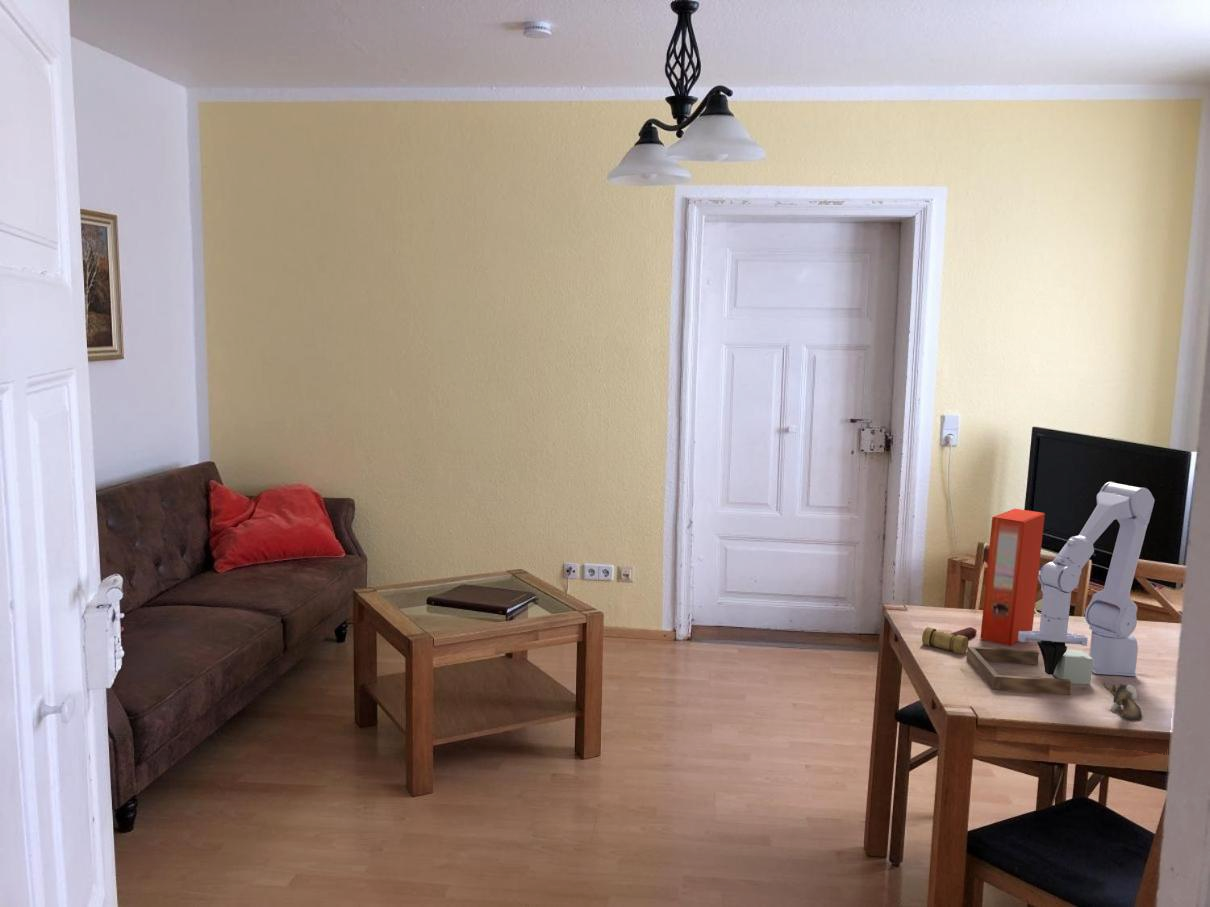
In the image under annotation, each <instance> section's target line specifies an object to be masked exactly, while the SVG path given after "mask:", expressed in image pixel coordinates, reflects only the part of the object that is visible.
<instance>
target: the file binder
mask: <svg viewBox="0 0 1210 907" xmlns="http://www.w3.org/2000/svg"><path fill="white" fill-rule="evenodd" d="M1045 516H1046V514H1045V512H1039V511H1033V510H1029V509H1028V510H1027V509H1026V510H1025V509H1021V508H1012V509H1010V510H1007V511H1004V512H1002V513H1000V514H997V515H994V516H992V517H991V528H990V536H989V537H990V538H989V545H988V546H989V547H988V558H987V568H986V579H985V589H984V596H983V597H984V598H983V605H982V606H983V607H982V616H981V617H982V618H981V628H980V636H979V637H980V639H983V641H987V640H988V641H987V642H991V643H995V642H996V643H995V644H999V643H1000V645H1003V644H1004V646H1007V645H1008V646H1009V647H1012V646H1013V645H1015V644H1016V643H1018V642H1019V641H1018V633H1019V631H1033V627H1034V618H1035V608H1036V601H1037V600H1036V598H1037V591H1038V589H1037V588H1038V581H1039V578H1038V574H1039V573H1040V572H1039V571H1040V563H1041V554H1042V553H1041V551H1042V543H1043V534H1044V524H1045ZM1014 643H1015V644H1014Z"/></svg>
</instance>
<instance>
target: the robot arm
mask: <svg viewBox="0 0 1210 907" xmlns="http://www.w3.org/2000/svg"><path fill="white" fill-rule="evenodd" d="M1155 501H1156V500H1155V498H1154V496H1153V494H1152V492H1151V491H1150V490H1149V489H1148V488H1147V487H1138V486H1133V485H1128V484H1122V483H1116V482H1115V481H1108V482H1106V483H1104V485H1103V486H1102V487H1101V488H1100V490H1099V492H1098V493H1097V494H1096V507H1094V510H1093V511H1092V513H1091V515H1090V516H1089V518H1088V520H1087V521H1086V523H1085V524H1084V526H1083V528H1082V529H1081V531H1080V533H1078V535H1074V536H1071V537H1069V539H1067V542H1066V543H1065V544H1064V546H1062V548H1060V549H1061V550H1060V551H1059V552H1058V553H1057V555H1056V556H1055V558H1054V559H1053V560H1052V561H1049V562H1047V563H1045V564H1044V565H1043V566H1042V567H1041V569H1040V570H1039V571H1040V572H1039V573H1038V581H1039V583H1040V586H1041V588H1040V591H1041V593H1042V600H1041V612H1040V622H1039V630H1032V631H1019V633H1018V640H1019V641H1018V642H1020V643H1025V642H1033V643H1034V642H1035V643H1036V644H1037V646H1038V648H1039V650H1040V653H1041V656H1042V659H1043V666H1044V667H1043V668H1044V672H1045V674H1046V675H1048V676H1050V675H1051V676H1053V675H1054V671H1055V668H1056V666H1057V664H1058V662H1059V660H1060V659H1061V657H1062V656H1063V654H1064V653H1065V652H1066V650H1067V649H1068V646H1067V645H1081V646H1083V647H1084V646H1086V647H1087V646H1088V637H1087V636H1086V635H1084V634H1076V633H1071V632H1068V627H1069V616H1070V608H1071V601H1072V600H1071V599H1072V591H1074V590H1075V589H1076V588H1077V587H1078V586H1079V583H1080V578H1081V575H1082V569H1083V568H1084V567H1085V565H1086V564H1087V562H1088V561H1089V560H1090V558H1091V557H1092V555H1093V554H1094V553H1095V547H1094V544H1095V543H1096V541H1097V540H1098V539H1099V538H1100V536H1101V535H1102V534H1103V533H1104V532H1105V531H1106V530H1107V528H1108V527H1109V526H1110V525H1111V524H1112V523H1113V522H1114V520H1117V522H1118V523H1119V530H1118V533H1117V536H1116V541H1115V544H1114V549H1113V553H1112V556H1111V560H1110V563H1109V567H1108V571H1107V575H1106V579H1105V583H1104V586H1103V589H1102V590H1100V591H1097V592H1095V593H1094V594H1092V597H1091V600H1090V602H1089V604H1088V605H1087V606H1086V609H1085V613H1084V619H1085V622H1086V624H1088V626H1089V627H1088V628H1089V630H1091V635H1090V643H1089V644H1090V645H1089V654H1088V655H1089V656H1090V657H1091V658H1092V659H1093V664H1092V674H1096V675H1107V676H1109V675H1111V676H1126V677H1127V676H1128V677H1137V676H1138V674H1137V673H1136V672H1137V671H1136V670H1137V662H1138V660H1137V659H1138V651H1139V648H1138V646H1139V644H1138V641H1137V639H1136V637H1135V635H1133V633H1134V631H1135V630H1136V627H1137V624H1138V620H1137V619H1138V618H1137V612H1138V605H1137V604H1136V603H1135V602H1134V601H1133V599H1132V598H1131V596H1130V593H1131V589H1132V585H1133V581H1134V579H1135V573H1136V570H1137V568H1138V567H1137V566H1138V563H1139V558H1140V555H1141V552H1142V547H1143V544H1144V540H1145V536H1146V531H1147V528H1148V525H1149V523H1150V519H1151V516H1152V512H1153V508H1154V504H1155Z"/></svg>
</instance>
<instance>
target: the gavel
mask: <svg viewBox="0 0 1210 907" xmlns="http://www.w3.org/2000/svg"><path fill="white" fill-rule="evenodd" d="M977 631H978V630H977V629H976V628H973V627H966V628H963V629H960V630H957V631H954V632H951V633H948V632H944V631H940V630H938V631H937V629H936V628H933V627H930V626H928V627H926V628H925V629H924V630H923V633H922V636H921V642H922V644H923V645H924V646H927V647H931V646H933V647H935V648H938V649H941V650H946V651H951V652H952V651H953V653H955V654H957V655H964V654H967V648H968V646H969V639H970V637H971V638H973V637H974V636H975V635H976V633H977Z"/></svg>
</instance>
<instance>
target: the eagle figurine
mask: <svg viewBox="0 0 1210 907" xmlns="http://www.w3.org/2000/svg"><path fill="white" fill-rule="evenodd" d="M1101 684H1102V686H1103V687H1104V688H1105V689H1106V690H1107V691H1109V693H1110V694H1111V695H1112V696H1113V701H1112V702H1113V703H1112V704H1111V707H1110V709H1109V711H1111V712H1112V711H1113V710H1114V711H1115V710H1116V709H1117V708H1118V707H1120V706H1122V713H1121V715H1120V718H1121V719H1123V721H1124V720H1125V721H1127V722H1136V721H1140V720H1141V719H1142V718H1143V714H1142V710H1141V708H1140V706H1139V705H1138V704H1137V702H1136V701H1135V700H1136V699H1137V698H1138V694H1137V693H1138V692H1137V689H1136V687H1135V686H1133V685H1131V684H1127V685H1126V684H1121V683H1120V684H1119V686H1118V687H1117V688H1116V685H1115V684H1113V685H1112V687H1111V688H1110V687H1108V686H1107V684H1106V683H1105V682H1101Z"/></svg>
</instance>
